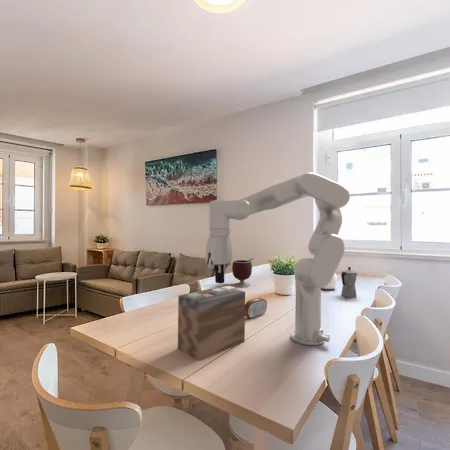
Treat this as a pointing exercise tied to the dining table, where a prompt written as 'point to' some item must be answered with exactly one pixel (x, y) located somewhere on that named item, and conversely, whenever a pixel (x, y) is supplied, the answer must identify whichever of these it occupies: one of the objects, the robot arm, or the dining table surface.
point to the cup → (331, 283)
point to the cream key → (229, 288)
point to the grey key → (218, 291)
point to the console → (210, 322)
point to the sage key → (194, 296)
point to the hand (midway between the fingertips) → (219, 282)
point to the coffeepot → (348, 283)
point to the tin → (255, 307)
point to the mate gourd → (242, 271)
